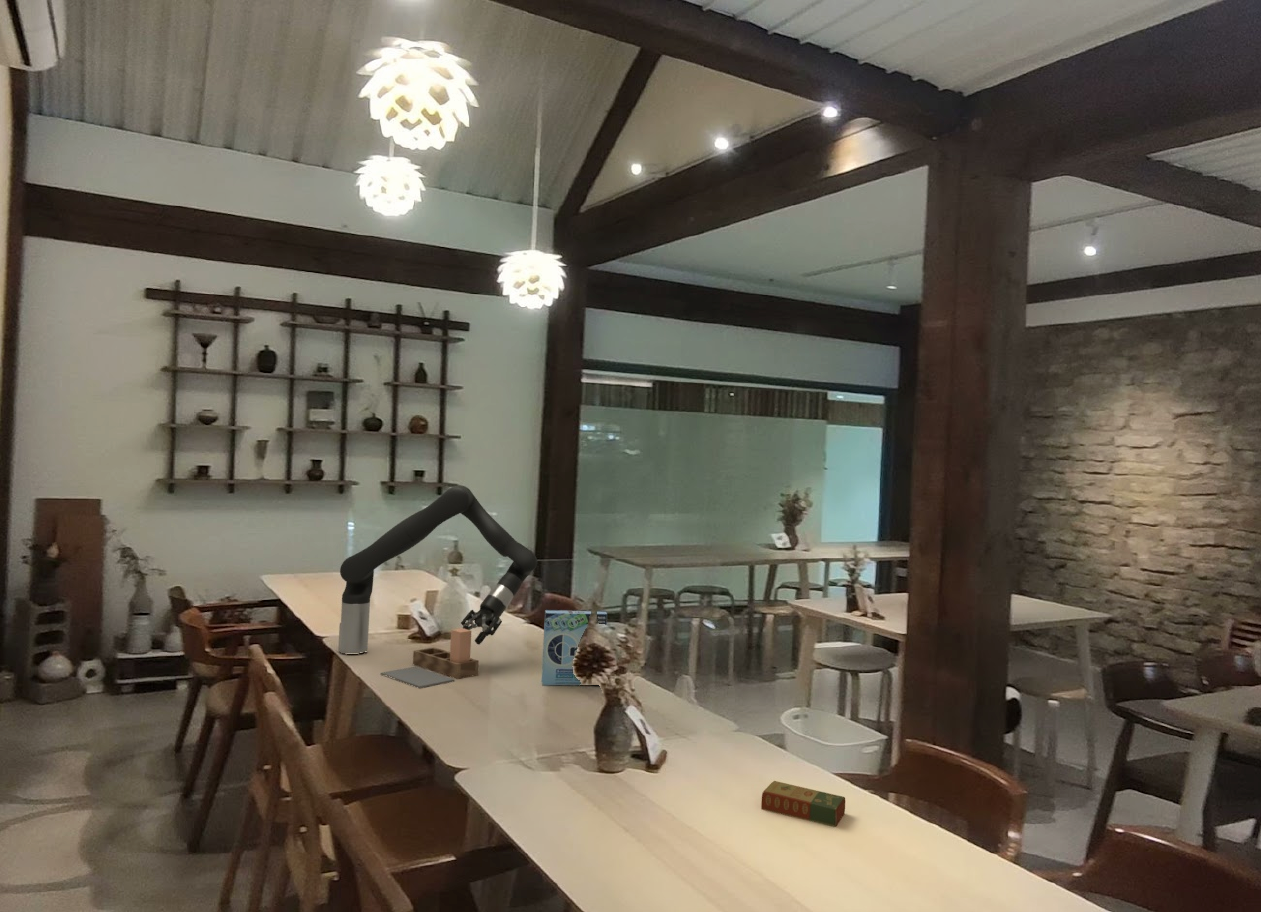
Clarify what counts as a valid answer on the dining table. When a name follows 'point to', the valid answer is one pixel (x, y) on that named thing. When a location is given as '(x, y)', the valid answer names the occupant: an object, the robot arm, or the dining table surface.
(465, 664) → the stand
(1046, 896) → the dining table surface
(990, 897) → the dining table surface
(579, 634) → the gum box
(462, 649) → the block
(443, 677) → the mat
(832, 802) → the carton
